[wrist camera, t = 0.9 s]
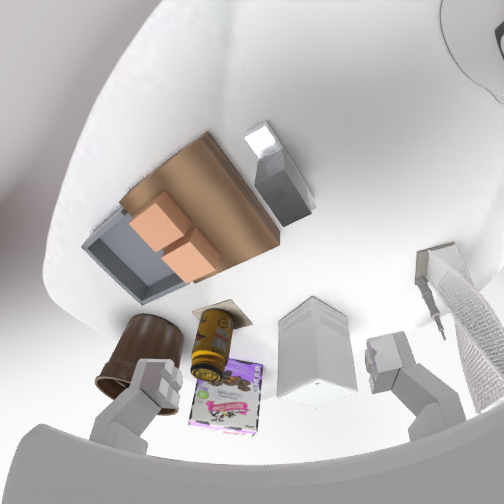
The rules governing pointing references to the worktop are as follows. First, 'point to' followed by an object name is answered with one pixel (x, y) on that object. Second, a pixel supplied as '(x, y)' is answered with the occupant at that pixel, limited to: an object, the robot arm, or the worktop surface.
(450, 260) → the skyscraper
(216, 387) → the candy box
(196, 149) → the board
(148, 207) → the tile
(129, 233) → the tray
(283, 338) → the supplement box
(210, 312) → the condiment
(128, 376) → the plant pot
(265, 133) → the scraper
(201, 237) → the tile
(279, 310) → the worktop surface
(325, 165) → the worktop surface
